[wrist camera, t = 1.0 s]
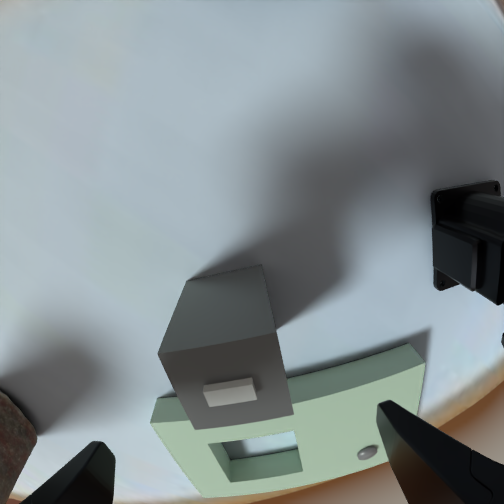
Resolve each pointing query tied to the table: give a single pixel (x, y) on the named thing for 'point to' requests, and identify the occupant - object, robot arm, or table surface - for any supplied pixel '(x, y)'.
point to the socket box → (299, 428)
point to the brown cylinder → (13, 445)
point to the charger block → (226, 352)
